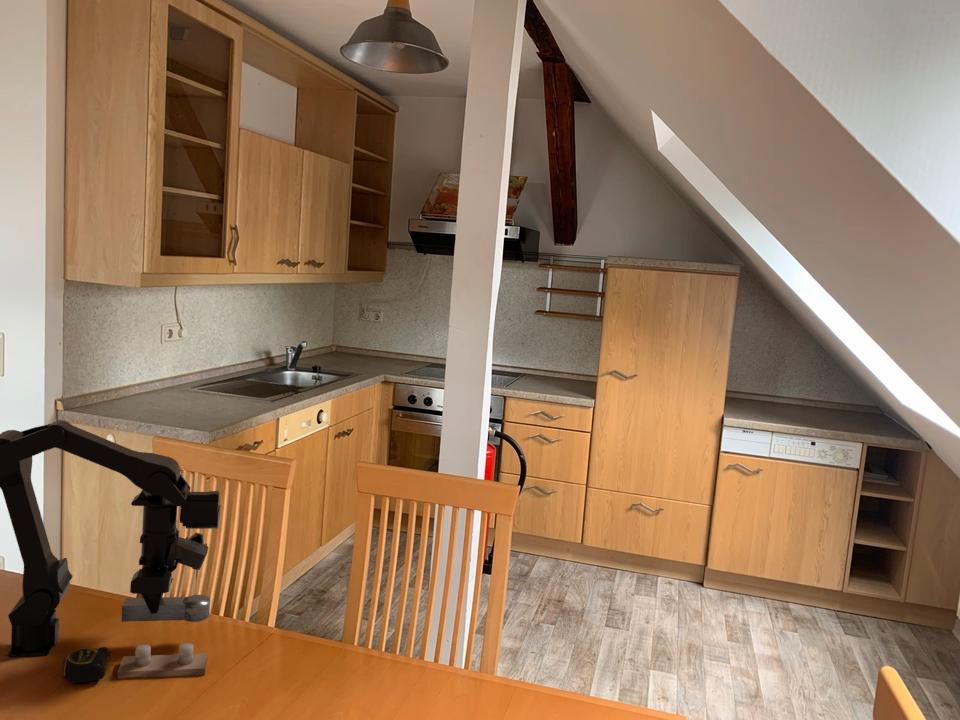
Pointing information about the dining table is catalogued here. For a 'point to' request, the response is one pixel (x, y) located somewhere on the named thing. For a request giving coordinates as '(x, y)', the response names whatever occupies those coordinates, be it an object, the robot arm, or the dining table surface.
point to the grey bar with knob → (168, 609)
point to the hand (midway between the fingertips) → (155, 608)
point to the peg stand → (163, 663)
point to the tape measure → (85, 664)
